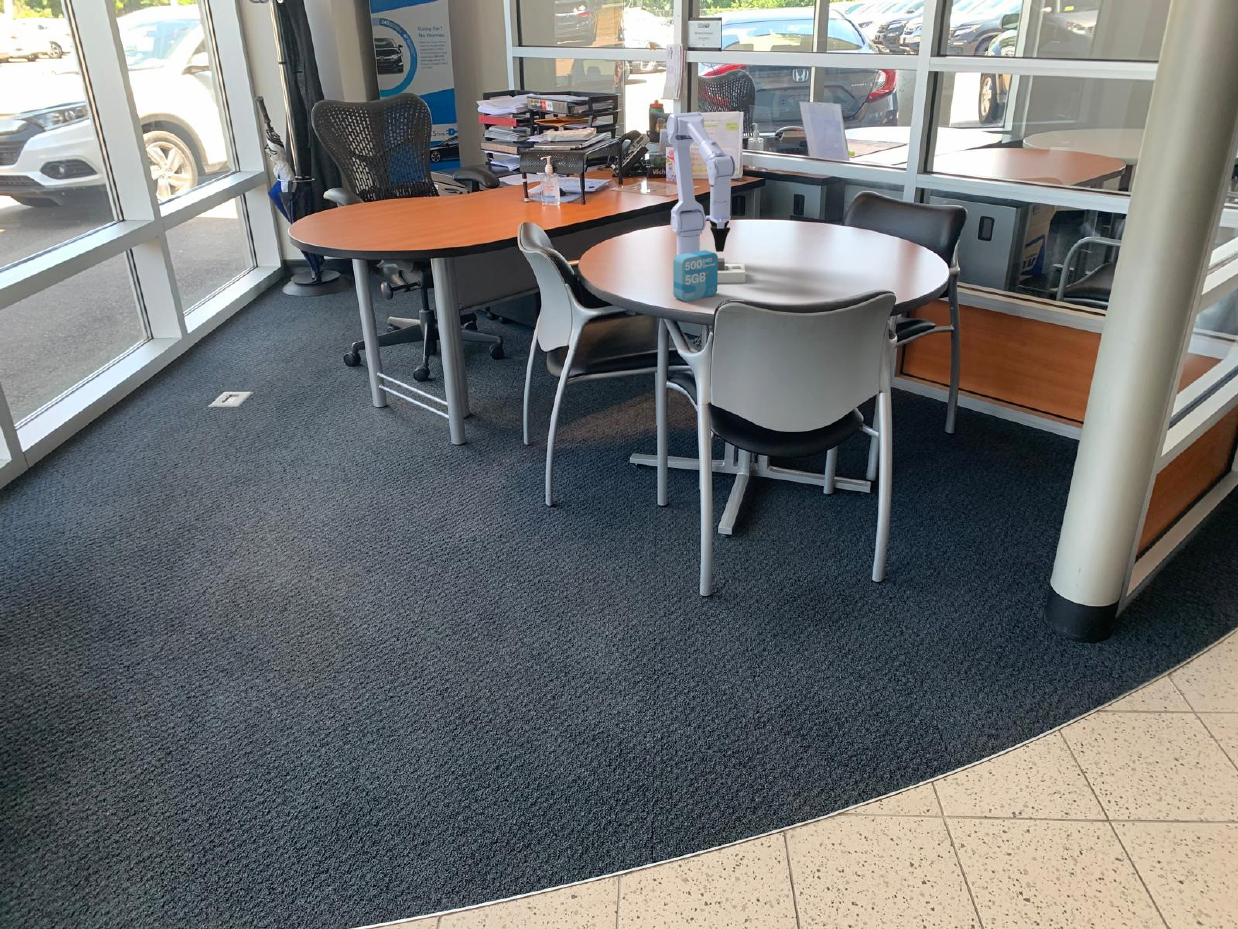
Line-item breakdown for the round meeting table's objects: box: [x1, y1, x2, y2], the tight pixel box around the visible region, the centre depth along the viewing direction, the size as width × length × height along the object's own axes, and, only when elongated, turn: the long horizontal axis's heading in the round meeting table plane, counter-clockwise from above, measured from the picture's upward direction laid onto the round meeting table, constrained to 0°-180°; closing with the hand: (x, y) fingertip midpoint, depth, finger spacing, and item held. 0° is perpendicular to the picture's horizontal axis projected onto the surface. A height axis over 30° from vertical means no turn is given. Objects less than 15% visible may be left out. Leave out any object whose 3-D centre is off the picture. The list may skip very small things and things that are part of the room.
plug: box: [718, 257, 726, 271], centre depth 267 cm, size 4×4×6 cm
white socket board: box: [717, 263, 746, 284], centre depth 268 cm, size 10×18×3 cm, turn 86°
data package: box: [672, 249, 719, 302], centre depth 249 cm, size 12×4×12 cm, turn 122°
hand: (719, 248), depth 264 cm, fingers open, 7 cm apart
